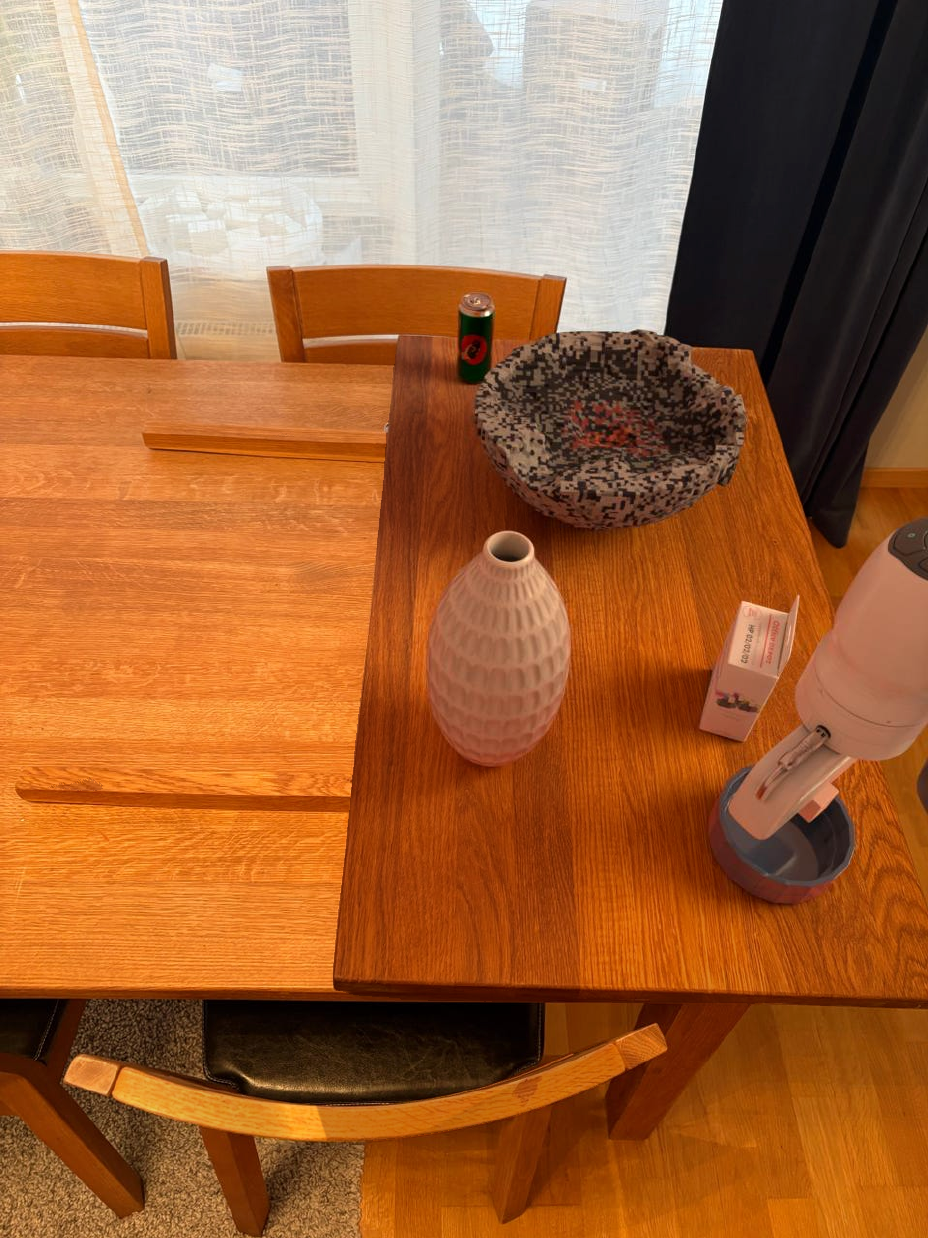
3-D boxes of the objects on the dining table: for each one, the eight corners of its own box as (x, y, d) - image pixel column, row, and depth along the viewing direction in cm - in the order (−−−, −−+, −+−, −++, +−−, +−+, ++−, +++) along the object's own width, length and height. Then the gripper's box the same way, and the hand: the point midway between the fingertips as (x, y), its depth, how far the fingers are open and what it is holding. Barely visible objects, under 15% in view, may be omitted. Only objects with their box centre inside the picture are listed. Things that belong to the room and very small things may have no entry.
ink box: (710, 667, 93) (749, 577, 82) (756, 681, 92) (802, 591, 81) (696, 729, 88) (736, 642, 77) (745, 745, 87) (792, 659, 76)
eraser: (827, 807, 74) (840, 790, 71) (808, 824, 73) (821, 807, 70) (781, 765, 76) (792, 748, 74) (762, 781, 75) (773, 764, 73)
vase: (536, 812, 82) (575, 629, 60) (409, 777, 84) (402, 587, 62) (563, 705, 90) (606, 509, 68) (447, 676, 91) (452, 476, 70)
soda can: (497, 379, 125) (502, 304, 116) (467, 389, 124) (470, 314, 114) (479, 361, 128) (483, 287, 119) (450, 371, 126) (451, 295, 117)
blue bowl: (852, 824, 82) (871, 803, 78) (813, 932, 75) (831, 913, 72) (733, 764, 86) (746, 741, 82) (686, 861, 79) (698, 840, 76)
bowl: (695, 421, 120) (724, 326, 109) (733, 588, 101) (772, 493, 89) (473, 412, 120) (478, 315, 109) (467, 577, 100) (471, 480, 89)
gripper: (808, 807, 57) (752, 889, 67) (978, 657, 65) (904, 751, 76) (735, 742, 60) (692, 830, 71) (905, 607, 68) (844, 704, 79)
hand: (803, 788), depth 73 cm, fingers closed on eraser, 2 cm apart
